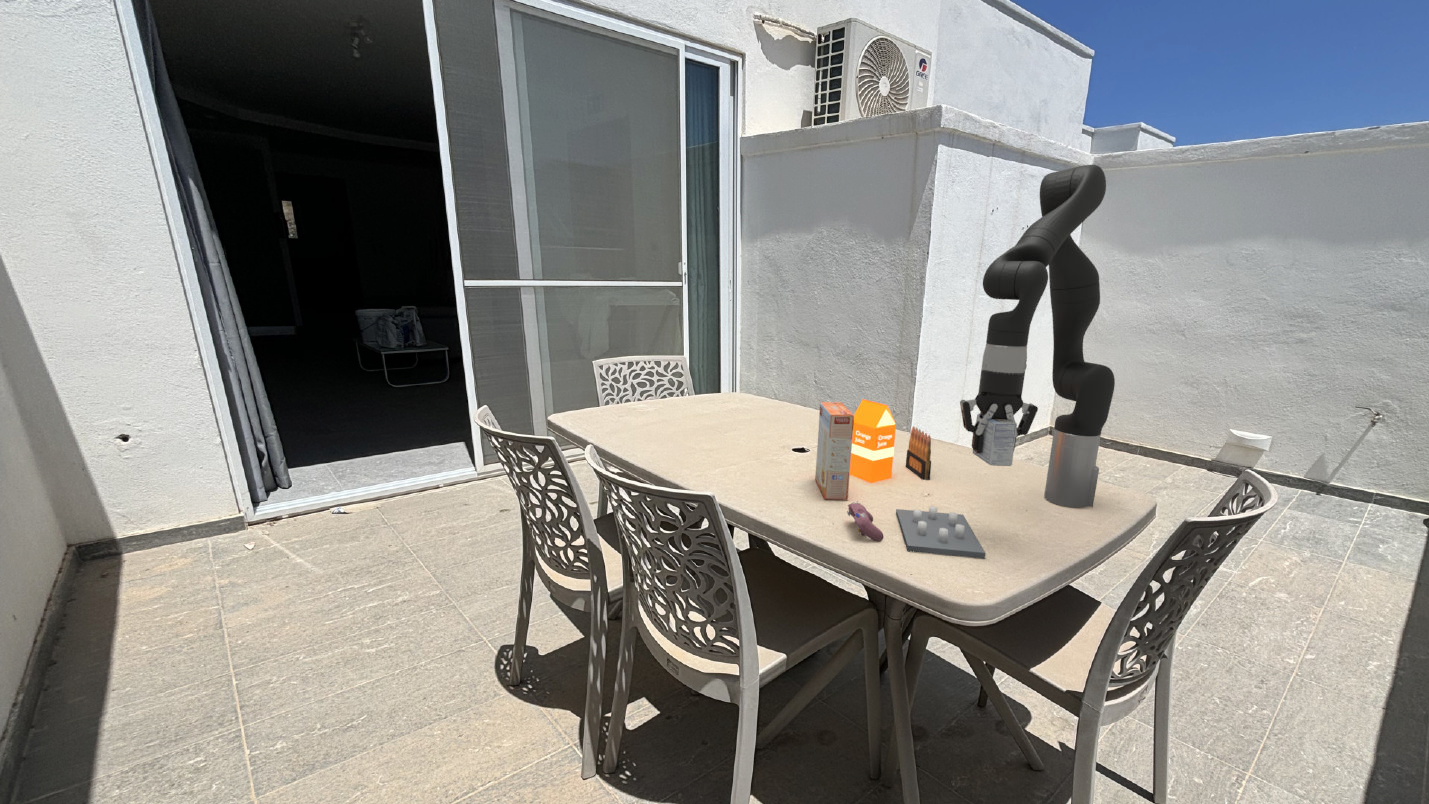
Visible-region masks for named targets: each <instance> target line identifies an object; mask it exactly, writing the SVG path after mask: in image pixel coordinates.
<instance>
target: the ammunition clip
mask: <svg viewBox="0 0 1429 804" xmlns="http://www.w3.org/2000/svg"><path fill="white" fill-rule="evenodd" d="M909 436H910V437H909V441H908V449H907V450H906V458H905V468H906V469H907V470H909V471H910V472H912V473H913V474H915V475H916V476H917V477H918V478H920V479H921V480H922V481H930V480H931V473H932V472H931V470H932V469H931V468H932V460H931V456H932V449H931V448H932V445H931V444H932V437H931V435H930V434H928V433H927V432H924V431H923V430H922V431H921V429H918V427H915V425H913V426H912V427H911V431H910V435H909Z"/></svg>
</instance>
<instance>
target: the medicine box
mask: <svg viewBox="0 0 1429 804" xmlns="http://www.w3.org/2000/svg"><path fill="white" fill-rule="evenodd" d="M979 414H980V413H977V414H976V421H977V418H978V416H979ZM982 416H983V415H982ZM983 417H984V416H983ZM976 421H975V422H976ZM1017 427H1018V423H1017V422H1016V421H1015V422H1014V421H1012V420H1007V419H991V420H989V423H988V425H987V426H986V427H985V429H984V431H983V433H982V436H983V440H982V447H981V453H976V452H975V451H974V450H973V449H972V454H973V455H974V456H976V457H978V458H979V459H980V460H981V461H983V462H985V463H986V464H988V465H989V466H991V467H992V466H995V467H996V466H997V467H1011V466H1013V461H1014V460H1013V459H1014V451H1015V450H1014V445H1015V446H1016V443H1015V437H1016V429H1017Z"/></svg>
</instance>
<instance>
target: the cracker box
mask: <svg viewBox="0 0 1429 804" xmlns="http://www.w3.org/2000/svg"><path fill="white" fill-rule="evenodd" d="M818 414H819V415H818V432H817V445H816V446H817V447H816V448H817V449H816V459H815V460H816V462H815V476H814V480H815V482H816V484H817V486H818V488H819V490H820V492H821V495H822V497H823V499H824V500H835V501H836V500H837V501H839V500H842V501H848V499H849V487H850V486H849V485H850V483H849V482H850V476H851V475H850V463H851V450H852V437H853V426H854V414H853V413H852V411H851V410H849V408H848V407H847V406H845V404H844V403H843V402H839V401H838V402H837V401H821V402H820V404H819V413H818Z"/></svg>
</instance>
